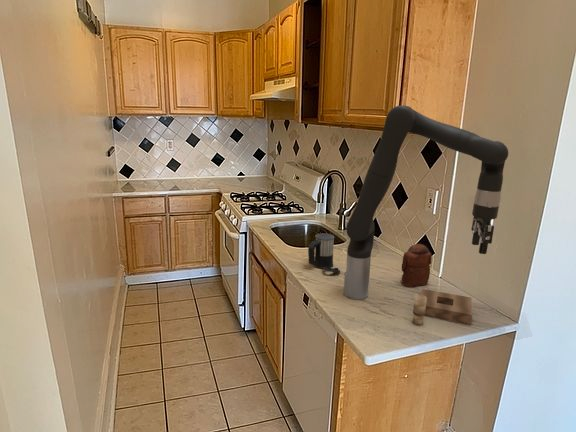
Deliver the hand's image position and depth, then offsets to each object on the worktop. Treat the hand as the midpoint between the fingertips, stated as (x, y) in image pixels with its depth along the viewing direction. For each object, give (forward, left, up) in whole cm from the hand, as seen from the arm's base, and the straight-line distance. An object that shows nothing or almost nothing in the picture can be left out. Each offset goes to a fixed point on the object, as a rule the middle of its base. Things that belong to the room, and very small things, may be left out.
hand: (478, 249), depth 132 cm
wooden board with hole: (-8, +2, -27) cm, 28 cm away
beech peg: (-16, -11, -27) cm, 33 cm away
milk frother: (-60, +21, -27) cm, 69 cm away
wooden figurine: (-21, +21, -27) cm, 40 cm away
